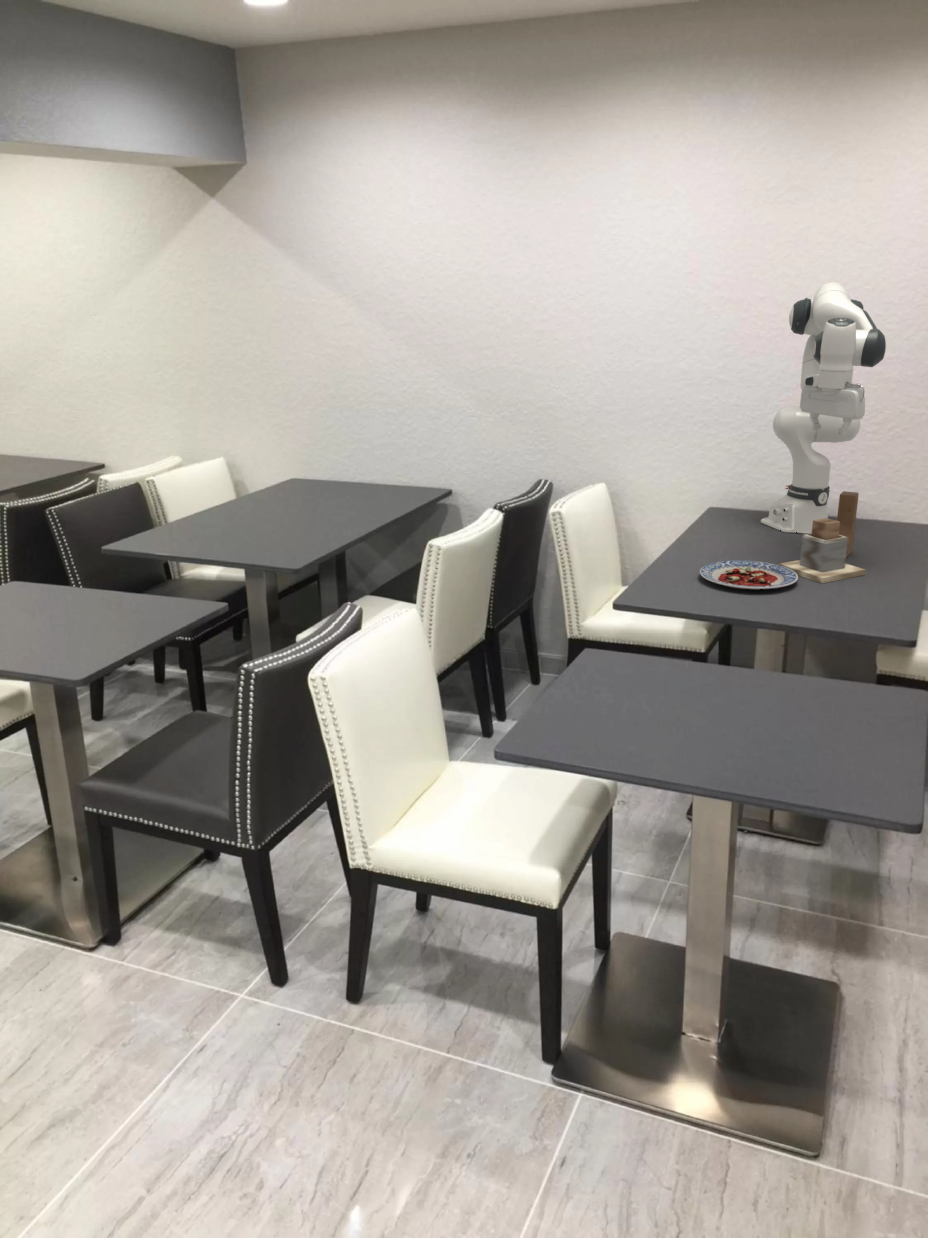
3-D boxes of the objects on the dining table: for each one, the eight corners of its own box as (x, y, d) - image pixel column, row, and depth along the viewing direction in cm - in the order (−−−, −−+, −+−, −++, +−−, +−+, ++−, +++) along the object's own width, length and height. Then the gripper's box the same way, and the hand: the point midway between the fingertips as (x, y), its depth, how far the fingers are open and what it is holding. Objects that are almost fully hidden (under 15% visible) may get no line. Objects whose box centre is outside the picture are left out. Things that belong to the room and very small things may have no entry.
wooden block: (845, 559, 292) (852, 498, 286) (829, 557, 295) (835, 496, 289) (852, 552, 299) (859, 492, 294) (836, 550, 302) (843, 490, 296)
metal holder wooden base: (778, 568, 284) (782, 533, 281) (820, 561, 291) (824, 526, 288) (821, 583, 271) (825, 546, 267) (864, 574, 278) (869, 538, 274)
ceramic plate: (794, 599, 259) (795, 588, 258) (692, 590, 267) (693, 579, 266) (799, 572, 282) (800, 562, 281) (705, 564, 290) (706, 554, 289)
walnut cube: (811, 537, 279) (812, 520, 277) (824, 535, 281) (826, 517, 279) (824, 541, 275) (826, 523, 273) (838, 539, 277) (840, 521, 275)
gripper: (873, 383, 266) (867, 436, 271) (815, 376, 283) (810, 426, 288) (856, 384, 263) (850, 438, 268) (798, 378, 281) (793, 428, 285)
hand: (829, 432), depth 278 cm, fingers open, 8 cm apart
